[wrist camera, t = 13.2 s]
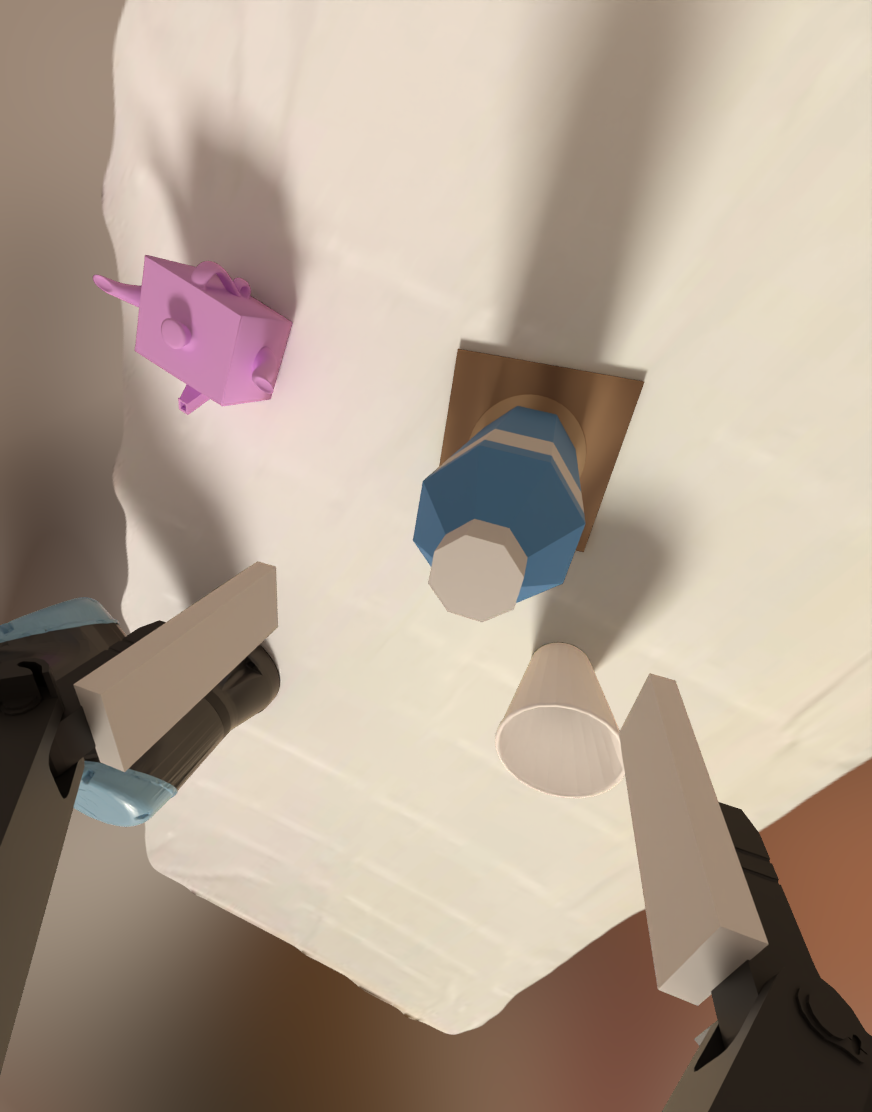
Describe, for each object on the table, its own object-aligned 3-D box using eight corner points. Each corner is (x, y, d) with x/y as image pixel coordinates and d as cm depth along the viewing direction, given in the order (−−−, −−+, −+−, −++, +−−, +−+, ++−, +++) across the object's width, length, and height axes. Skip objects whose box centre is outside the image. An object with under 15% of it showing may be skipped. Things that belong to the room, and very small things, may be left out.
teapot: (165, 360, 46) (75, 361, 38) (185, 226, 40) (81, 190, 31) (302, 447, 46) (243, 467, 37) (345, 326, 39) (284, 318, 31)
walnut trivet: (433, 512, 45) (431, 514, 44) (459, 349, 38) (457, 348, 37) (583, 549, 42) (583, 552, 42) (643, 381, 35) (644, 381, 34)
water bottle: (514, 382, 37) (443, 419, 15) (598, 445, 37) (647, 570, 15) (456, 467, 41) (338, 588, 20) (531, 522, 42) (497, 702, 20)
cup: (494, 635, 50) (475, 713, 39) (597, 613, 45) (608, 694, 34) (528, 711, 53) (519, 801, 42) (627, 698, 48) (645, 796, 37)
